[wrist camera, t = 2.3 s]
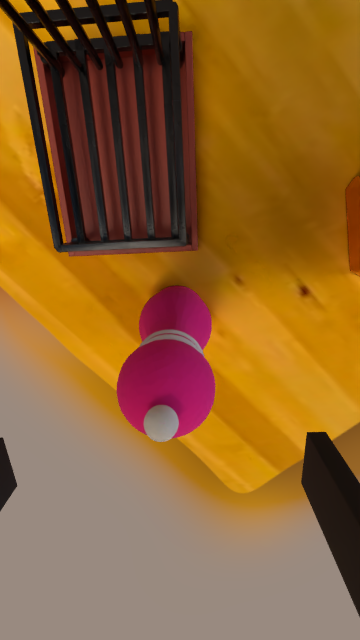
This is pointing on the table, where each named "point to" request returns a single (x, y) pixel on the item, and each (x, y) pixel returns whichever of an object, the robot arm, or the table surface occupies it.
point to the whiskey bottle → (354, 223)
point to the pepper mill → (169, 367)
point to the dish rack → (113, 126)
